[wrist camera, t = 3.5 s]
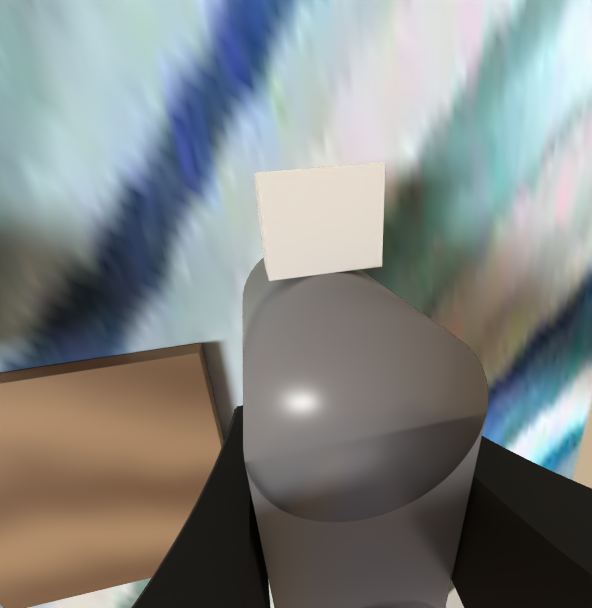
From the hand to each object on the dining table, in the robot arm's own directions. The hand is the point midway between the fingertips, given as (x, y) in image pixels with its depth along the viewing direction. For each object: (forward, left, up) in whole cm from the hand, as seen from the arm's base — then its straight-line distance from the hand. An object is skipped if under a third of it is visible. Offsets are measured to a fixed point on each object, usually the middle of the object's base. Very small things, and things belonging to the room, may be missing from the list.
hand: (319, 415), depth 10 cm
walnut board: (-5, +10, -4) cm, 12 cm away
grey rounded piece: (0, 0, -2) cm, 2 cm away
